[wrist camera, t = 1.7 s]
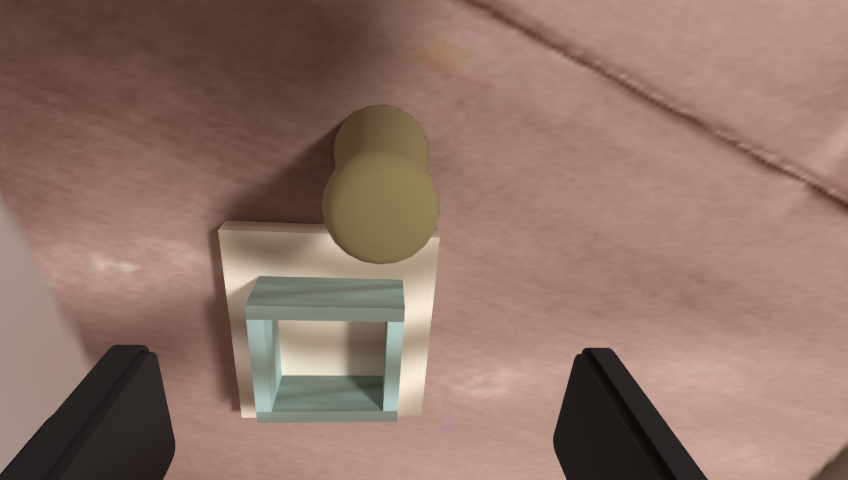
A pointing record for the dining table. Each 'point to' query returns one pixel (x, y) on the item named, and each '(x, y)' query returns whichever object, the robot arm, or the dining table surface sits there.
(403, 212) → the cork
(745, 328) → the dining table surface
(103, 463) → the robot arm
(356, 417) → the shaker caddy
